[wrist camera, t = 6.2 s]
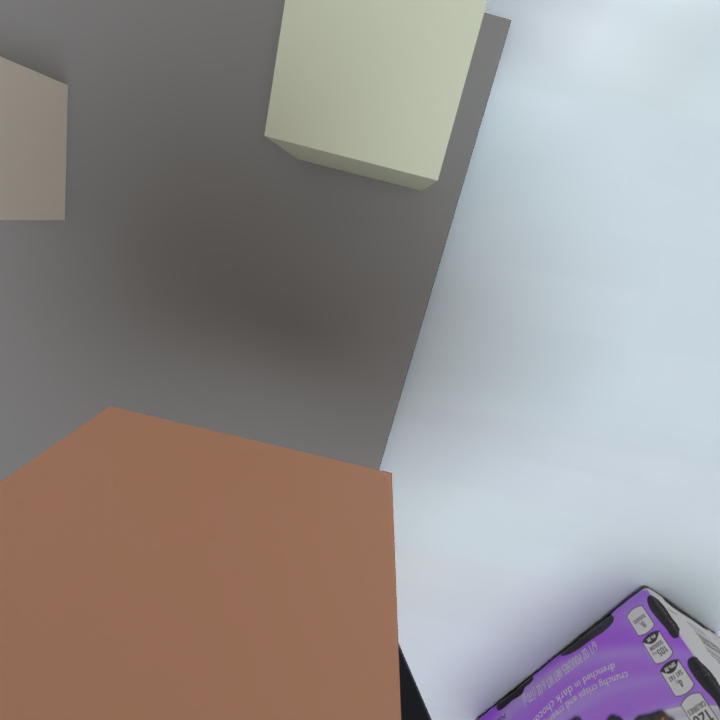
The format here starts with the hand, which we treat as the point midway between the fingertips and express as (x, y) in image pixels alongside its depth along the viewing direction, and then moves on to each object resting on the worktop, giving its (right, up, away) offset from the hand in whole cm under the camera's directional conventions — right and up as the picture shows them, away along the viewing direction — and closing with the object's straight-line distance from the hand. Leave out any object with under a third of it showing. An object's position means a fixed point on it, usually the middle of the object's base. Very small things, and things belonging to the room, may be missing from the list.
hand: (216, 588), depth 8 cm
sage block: (+3, +13, +9) cm, 16 cm away
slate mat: (-6, +6, +12) cm, 15 cm away
